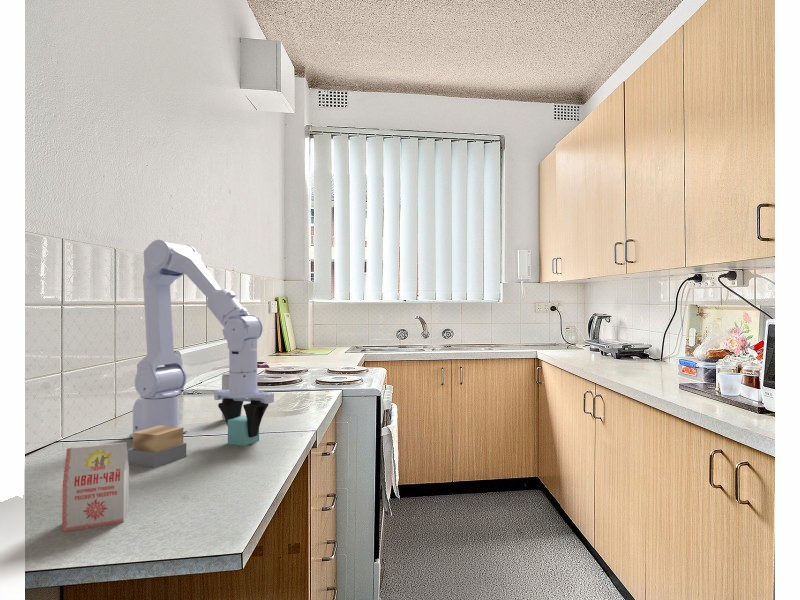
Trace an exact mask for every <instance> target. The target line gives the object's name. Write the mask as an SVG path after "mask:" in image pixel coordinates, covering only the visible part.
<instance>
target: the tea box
mask: <svg viewBox="0 0 800 600" xmlns="http://www.w3.org/2000/svg"><path fill="white" fill-rule="evenodd" d="M129 502H130V464H128V442H127V441H125V442H115V443H106V444H95V445H85V446H76V447H75V446H74V447H67V448H66V456H65V466H64V472H63V480H62V505H61V507H62V510H61V512H62V514H61V516H62V523H61V524H62V525H61V531H62V532H69V531H75V530H83V529H89V528H90V529H91V528H96V527H101V526H108V525H115V524H120V523H121V524H123V523H124V522H125V520H126V518H127V517H128V514H129V512H130V506H129V505H130V503H129Z"/></svg>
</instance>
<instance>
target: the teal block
mask: <svg viewBox="0 0 800 600" xmlns="http://www.w3.org/2000/svg"><path fill="white" fill-rule="evenodd" d="M258 441H260V430H259V431H258V435H257V436H254V437H249V436H248V425H247V417H246V415H242V416H239V417H236V418H233V419H229V420H228V426H227V445H234V446H235V445H236V446H243V447H244V446H245V447H246V446H248V445H250V444H253V443H256V442H258Z"/></svg>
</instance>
